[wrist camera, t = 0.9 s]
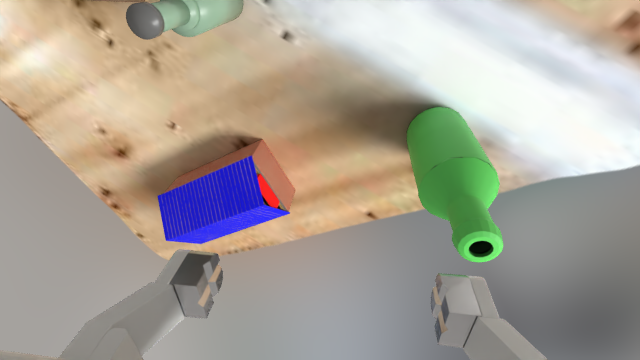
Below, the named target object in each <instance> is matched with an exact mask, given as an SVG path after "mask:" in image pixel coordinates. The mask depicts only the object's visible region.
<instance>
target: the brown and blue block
mask: <svg viewBox="0 0 640 360" xmlns="http://www.w3.org/2000/svg"><path fill="white" fill-rule="evenodd" d="M255 169H256V170H255ZM257 172H258V173H257ZM294 193H295V188H294V187H293V185H292V184H291V182H290V181H289V179H288V178H287V176H286V175H285V173H284V171H283V170H282V168H281V167H280V165H279V164H278V162H277V161H276V159H275V158H274V156H273V155H272V153H271V151H270V150H269V148H268V147H267V145H266V144H265V142H264V141H263V139H261V140H259V141H257V142H255V143H252V144H250V145H248V146H246V147H244V148H241V149H239V150H237V151H235V152H232V153H230V154H228V155H226V156H223V157H221V158H219V159H217V160H215V161H212V162H210V163H208V164H206V165H203V166H201V167H199V168H197V169H195V170H192V171H190V172H188V173H186V174H183V175H181V176H179V177H178V178H177V179H176V180H175V181H174V182H173V183H172V184H171V186H170V187H169V188H168V189H167V190H166V191H165V192H164V193H163V194H161V195H159V196H158V200H159V206H160V211H161V217H162V222H163V227H164V233H165V238H166V241H176V242H187V243H198V244H202V243H205V242H208V241H210V240H213V239H216V238H219V237H222V236H225V235H228V234H231V233H234V232H237V231H240V230H243V229H246V228H248V227H251V226H254V225H257V224H260V223H263V222H266V221H269V220H272V219H275V218H278V217H281V216H284V215H287V214H289V213H290V212H289V209H290V206H291V203H292V200H293V196H294ZM262 197H263V198H264V200H263V198H262Z"/></svg>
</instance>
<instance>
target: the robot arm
mask: <svg viewBox="0 0 640 360" xmlns="http://www.w3.org/2000/svg"><path fill="white" fill-rule="evenodd" d="M219 261H220V259H219V255H218V254H217V253H210V252H201V251H193V250H183V249H178V250H177V251H176V252H175V253H174V254H173V256H172V257H171V259H170V260H169V262H168V263H167V265H166V267H165V268H164V269H163V271H162V272H161V274H160V275H159V277H158V278H157V280H156V281H155V283H149V284H148V285H146V286H144V287H143V288H141V289H139V290H138V291H136V292H135V293H133V294H131V295H130V296H128V297H127V298H125V299H123V300H122V301H120V302H119V303H117V304H115V305H114V306H112V307H111V308H109V309H107V310H106V311H104V312H103V313H101V314H99V315H98V316H96V317H94V318H93V319H91V320H90V321H88V322H87V323H85V325H84V326H83V327H82V329H81V330H80V331H79V332H78V334H77V335H76V336H75V337H74V339H73V340H72V341H71V343H70V344H69V345H68V346H67V348H66V349H65V350H64V351H63V353H62V354H61V355H60V357H59V358H55V357H48V356H40V355H33V354H25V353H17V352H9V351H3V350H0V360H143V358H142V356H143V355H144V354H145V353H146V352H147V351H148V350H149V349H150V348H152V347H153V346H154V345H155V344H156V343H157V342H158V341H159V340H161V339H162V338H163V337H164V336H165V335H166V334H167V333H168V332H169V331H171V330H172V329H173V328H174V327H175V326H176V325H177V324H179V323H180V322H181V321H182V320H183V319H184V318H185V317H195V318H207V317H208V315H209V312H210V310H211V308H212V306H213V304H214V302H213V298H212V297H213V296H215V295H216V294H217V293H218V292H219V290H220V288H221V285H222V280H223V271H222V268H221V267H220V266H219V265H218V263H219ZM435 282H436V287H434V288H433V290H432V294H431V310H432V315H433V316H434V317H435V318H436V323H435V332H436V337H437V343H438V345H444V346H452V347H459V348H464V349H463V350H464V351H465V353H466V354H467V355H468V356H469V358H470V359H471V360H547V359H546V358H545V357H544V356H543V355H542V354H541V353H540V352H539V351H538V350H537V349H536V348H534V346H532V345H531V344H530V343H529V342H528V341H527V340H526V339H525V338H524V337H523V336H522V335H521V334H520V333H518V332H517V331H516V330H515V329H514V328H513V327H512V326H511V325H510V324H509V323H508V322H507V321H506V320H505V319H500V318H499V316H498V313H497V310H496V308H495V305H494V303H493V300H492V297H491V295H490V292H489V289H488V287H487V284H486V281H485V279H484V278H483V277H474V276H465V275H453V274H440V273H438V275H437V276H436V279H435Z"/></svg>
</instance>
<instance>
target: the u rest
mask: <svg viewBox="0 0 640 360" xmlns="http://www.w3.org/2000/svg"><path fill="white" fill-rule="evenodd" d="M93 1H121V2H145V0H93Z"/></svg>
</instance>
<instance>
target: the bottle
mask: <svg viewBox="0 0 640 360" xmlns="http://www.w3.org/2000/svg"><path fill="white" fill-rule="evenodd" d="M407 145H408V149H409V154H410V159H411V164H412V168H413V172H414V176H415V180H416V184H417V188H418V192H419V193H418V196H419V198H420V201H421V203H422V205H423V207H424V208H425V209H427V210H428V211H429V212H430V213H431V214H433V215H436V216H438V217H440V218H442V219H445V220H448V221H450V224H451V227H452V230H453V235H452V241H453V244H454V246H455V248H456V249H457V251H458V252H459V254H460V255H461V256H462V257H463V258H465V259H467V260H469V261H473V262H486V261H489V260H492V259H493V258H495V257H496V256H498V255H499V253H500V252H501V251H502V248H503V240H502V235H501V232H500V229H499V228H498V227H497V226H496V225H495V224H494V223H493V220H492V219H491V216H490V214H489V212H488V210H487V209H488V208H489V206H490V205H491V203H492V202H493V200H494V199H495V197H496V196H497V193H498V189H499V184H500V183H499V179H498V175H497V172H496V170H495V169H494V167H493V165H492V164H491V162H490V161H489V159H488V157H487V156H486V154H485V152H484V151H483V149H482V147H481V146H480V144H479V143H478V141H477V139H476V138H475V136H474V135H473V133H472V131H471V130H470V128H469V127H468V125H467V123H466V122H465V120H464V119H463V118H462V117H461V115H460V114H459V113H458V112H456V111H454V110H452V109H450V108H443V107H436V108H431V109H427V110H426V111H424V112H422V113H420V114H418V115H417V116H416V117H415V118H414V120H413V121H412V122H411V123H410V125H409V128H408V130H407Z"/></svg>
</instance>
